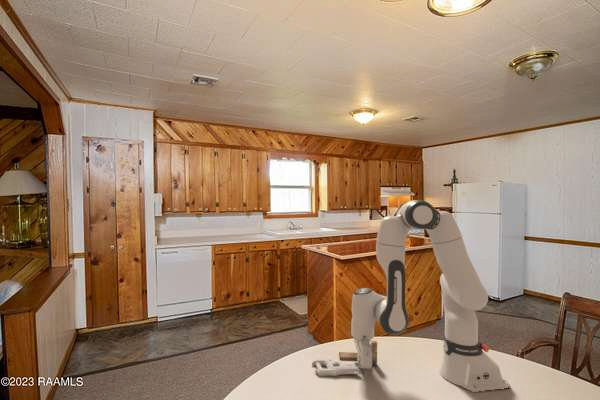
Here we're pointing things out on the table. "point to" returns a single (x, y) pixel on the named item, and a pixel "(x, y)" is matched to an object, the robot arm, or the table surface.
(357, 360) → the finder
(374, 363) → the tan rounded rod
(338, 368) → the gun
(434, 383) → the table surface
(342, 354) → the bar
